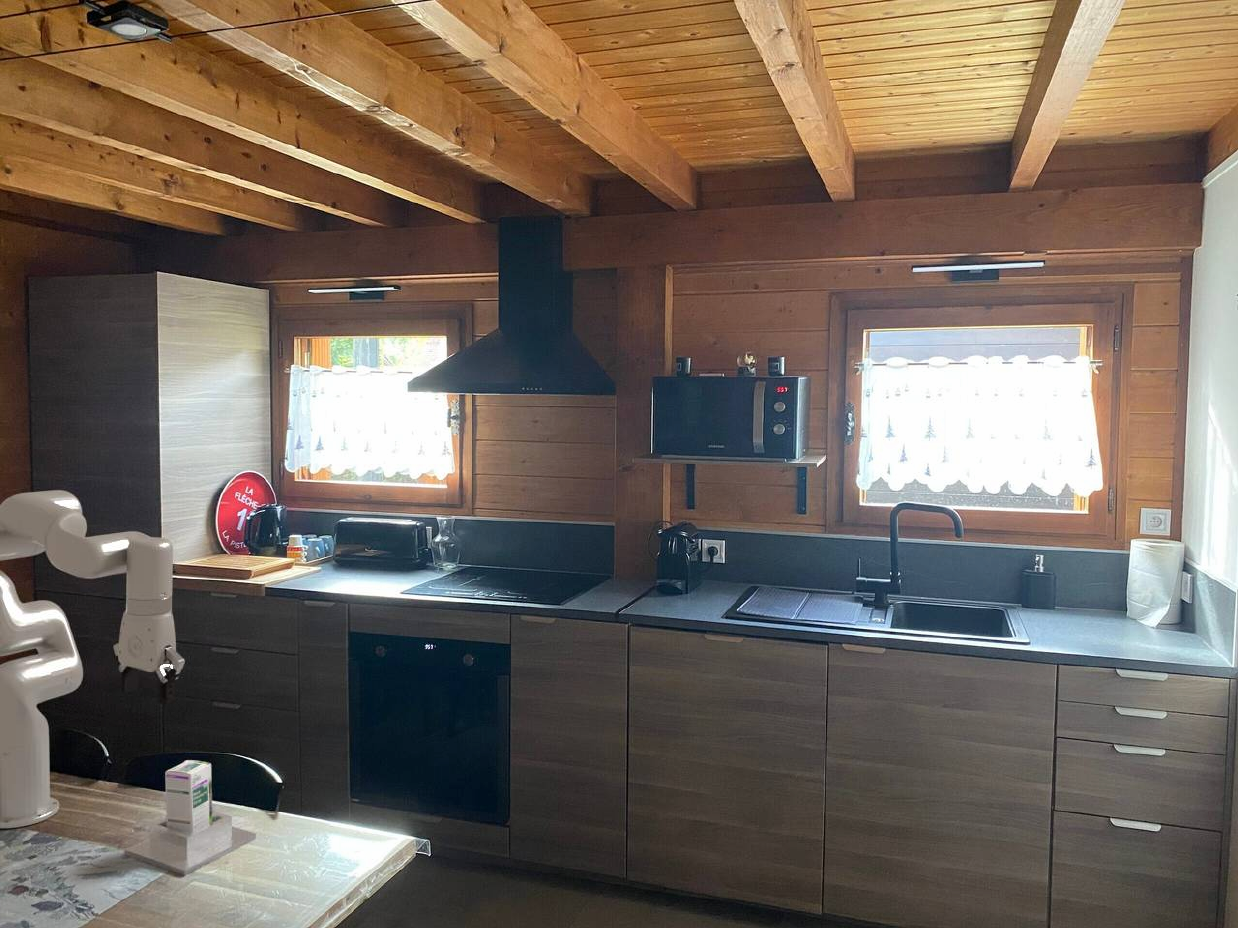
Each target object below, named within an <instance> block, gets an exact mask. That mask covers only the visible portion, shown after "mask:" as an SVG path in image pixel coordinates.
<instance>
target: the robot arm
mask: <svg viewBox="0 0 1238 928" xmlns="http://www.w3.org/2000/svg"><path fill="white" fill-rule="evenodd" d="M81 504H82V503H81V502H80V500H79V499H78V497H76V496H75V495H74V494H72V493H71V492H69V491H66V490H61V489H58V490H57V489H55V490H42V491H33V492H32V491H31V492H22V493H17V494H14V495H11V496H9V497H8V498H6V499H4V500H3V501H2V502H1V503H0V561H6V560H7V561H8V560H14V559H21V558H26V557H28V558H29V557H33V556H36V555H40V554H42V553H43V552H45V554H46V557H47V558H48V560H49V561H50V563H51V565H53V566H54V567H55V568H56V569H58V570H60V571H62V572H64V573H67V574H69V575H72V576H74V577H76V578H81V579H89V580H90V579H98V578H103V577H108V576H112V575H113V576H114V575H120V574H125V573H126V584H125V585H126V586H125V587H126V594H125V596H126V598H125V600H126V601H125V602H126V603H125V611H124V612H123V615H122V617H121V624H120V628H119V637H118V643H115V644H114V645H113V650H114V654H115V656H116V657H115V660H116V662H117V664H118V666H119V667H118V671H119V673H120V693H121V694H123V695H124V694H128V693H129V694H130V693H131V692H135V691H137V690H138V689H139V670H140V671H143V672H149V673H154V672H156V674H157V676H158V678H159V680H160V681H159V682H158V683H157V703H158V704H159V705H163V704H166V703H169V702H172V701H175V699H176V680H178V679H179V676H180V675H181V674H182V670H183V668H184V665H185V662H186V661H185V659H184V658H183V657H182V656H181V655H180V654H179V653H178V651H177V649H176V648H177V642H176V641H177V640H176V629H175V627H176V626H175V620H174V615H173V578H174V577H173V575H174V574H173V570H174V569H173V568H174V567H173V566H174V546H173V543H172V542H171V540H169V538H165V537H156V536H155V537H154V536H149V535H147V534H145V533H143V532H140V531H134V530H133V531H124V532H115V533H109V534H108V533H107V534H101V535H100V534H99V535H93V536H86V535H87V534H86V533H87V531H88V530H87V529H88V525H87V523H88V522H87V519H86V517H84V515H83V508H82V505H81ZM14 584H15V583H13V581H12V580H11V578H10V577H9V576H8V575H7V574H6V573H5V572H4V571H3V570H1V569H0V657H4V656H9V655H15V654H17V653H22V652H26V651H30V650H34V649H36V651H37V654H32V655H28V656H24V657H20V658H16V659H13V660H9V661H6V662H4V663H2V664H0V829H14V828H22V827H26V826H31V825H33V824H37V823H40V822H43V821H45V820H47V819H49V818H51V817H53V816H54V815H55V814H57V813H58V811H59V810H60V802H59V800H57V798H54V797H51V787H50V786H51V783H50V782H51V780H50V779H51V778H50V776H51V775H50V734H49V733H50V732H49V731H50V728H49V724H48V720H47V718H46V717H45V715H43V714H42V712H40V710H39V709H38V707H37V705H38V704H41V703H43V702H46V701H48V700H49V701H50V700H51V699H55V698H56V699H57V698H59V697H61V696H62V697H63V696H65V695H68V694H70V693H73V692H74V691H76V690H77V689H78V688H79V687H80V685H82V681H83V678H84V668H83V662H82V659H81V656H80V654H79V650H78V648H77V644H76V641H75V639H74V635H73V632H72V630H71V627H70V622H69V621H68V618H67V616H66V613H65V612H64V610H63V609H62V608H61V607H60V606H59V605H57V604H56V603H54V602H53V601H51V600H45V599H44V600H35V601H30V602H25V603H24V602H22V601H21V600H20V598H19V595H18V593H17V590H16V586H15V585H14ZM165 670H167V673H166V672H165Z"/></svg>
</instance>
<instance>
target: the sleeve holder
mask: <svg viewBox="0 0 1238 928" xmlns="http://www.w3.org/2000/svg"><path fill="white" fill-rule="evenodd" d="M256 839H257V835H256V833H255V832H251V831H249V830H245V829H242V828H239V827H235V826H233V816H232V815H230V814H229V815H228V814H226V813H222V812H219V811H217V810H213V809H212V823H211V824H208V825H206V826H204V827H202V828H200V829H198V830H196V831H194V832H192V833H190V834H185V833H182V832H179V831H176V830H173V829H170V828H167V818H163V819H162V820H159V821H157V822H154V823H152V824H150V825H149V837H148V838H146V839H144V840H142V841H140V842H137V843H135V844H132V845H131V846H129V847H126V848H125V849H124V850H123V851H124V852H123V853H124V856H128V857H130V858H132V859H135V860H139V861H141V862H144V863H147V864H150V865H152V866H155V867H159V868H161V869H164V870H167V871H169V872H173V873H175V874H177V875H178V874H179V875H180V876H184V877H185V876H187V875H189V874H192V873H193V872H195V871H197V870H199V869H200V868H202V867H205V866H207V865H209V864H210V863H212V862H214V861H217V860H218V859H220V858H222V857H223V856H226V855H228V854H229V853H232V852H234V851H235V850H238V849H239V848H241V847H242V846H245V845H247V844H248V843H250V842H252V841H254V840H256Z"/></svg>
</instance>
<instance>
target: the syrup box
mask: <svg viewBox="0 0 1238 928" xmlns="http://www.w3.org/2000/svg"><path fill="white" fill-rule="evenodd" d="M164 774H165V775H164V777H165V779H164V780H165V809H166V810H165V812H166V813H165V814H166V815H165V816H166V818H167V828H170V829H173V830H176V831H179V832H182V833H185V834H190V833H192V832H194V831H196V830H198V829H200V828H202V827H204V826H206V825H208V824H211V823H212V810H213V792H212V789H213V788H212V787H213V786H212V764H211V762H207V761H201V760H192V759H190V760H189V759H187V760H184V761H183V762H182V763H180V764H178V765H176V766H174V767H172V768H170V769H168V770H166V771H165V772H164Z"/></svg>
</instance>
